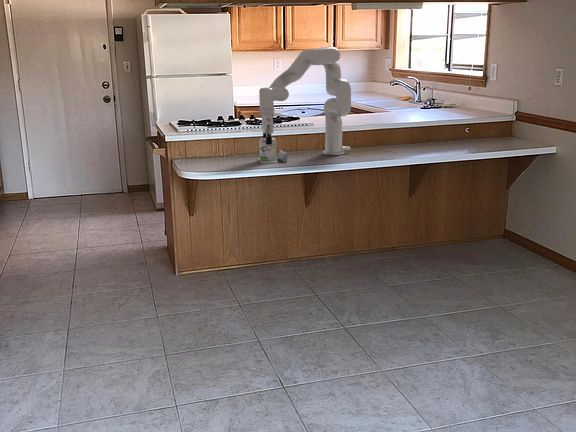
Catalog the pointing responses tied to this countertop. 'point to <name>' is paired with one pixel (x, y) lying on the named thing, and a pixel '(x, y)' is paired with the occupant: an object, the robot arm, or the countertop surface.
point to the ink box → (267, 150)
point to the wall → (282, 156)
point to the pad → (268, 161)
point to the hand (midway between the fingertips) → (267, 143)
